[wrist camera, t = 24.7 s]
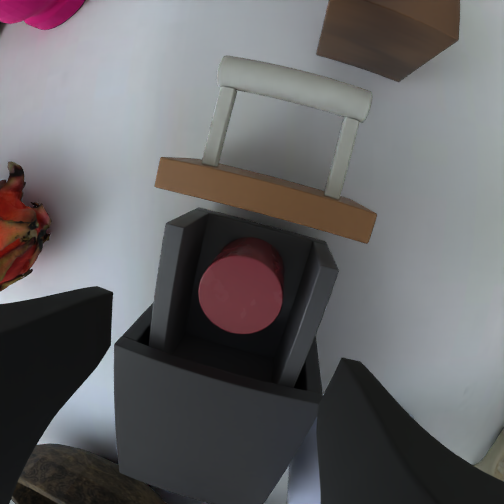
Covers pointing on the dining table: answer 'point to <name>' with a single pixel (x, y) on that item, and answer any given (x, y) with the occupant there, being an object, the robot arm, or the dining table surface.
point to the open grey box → (206, 422)
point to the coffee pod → (243, 286)
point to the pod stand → (388, 33)
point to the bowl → (77, 480)
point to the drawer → (257, 230)
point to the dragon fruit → (19, 229)
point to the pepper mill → (38, 12)
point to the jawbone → (494, 459)
